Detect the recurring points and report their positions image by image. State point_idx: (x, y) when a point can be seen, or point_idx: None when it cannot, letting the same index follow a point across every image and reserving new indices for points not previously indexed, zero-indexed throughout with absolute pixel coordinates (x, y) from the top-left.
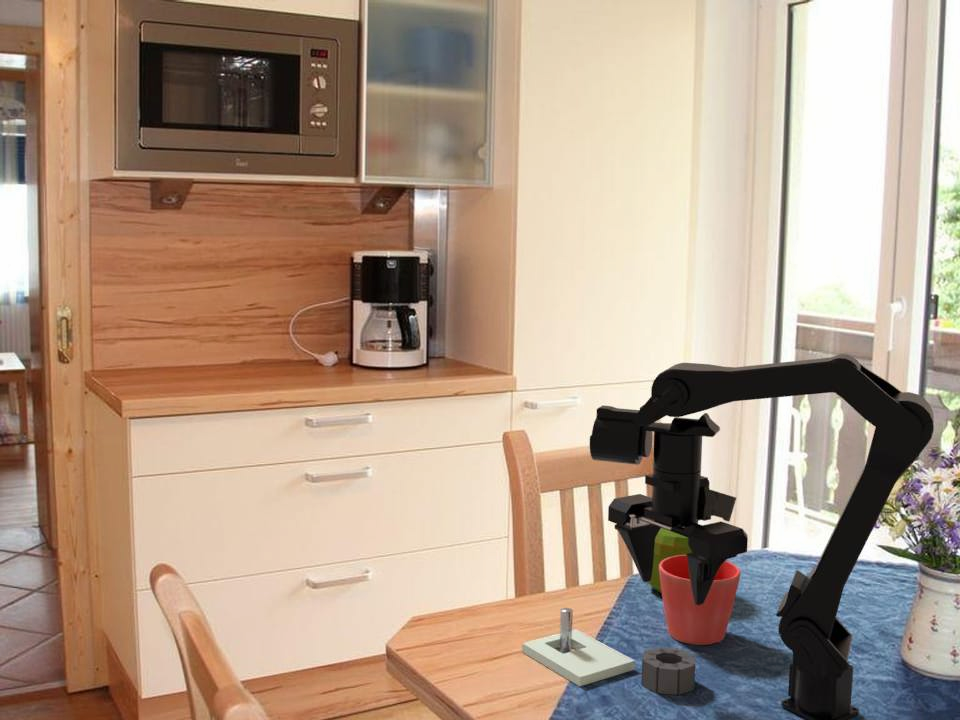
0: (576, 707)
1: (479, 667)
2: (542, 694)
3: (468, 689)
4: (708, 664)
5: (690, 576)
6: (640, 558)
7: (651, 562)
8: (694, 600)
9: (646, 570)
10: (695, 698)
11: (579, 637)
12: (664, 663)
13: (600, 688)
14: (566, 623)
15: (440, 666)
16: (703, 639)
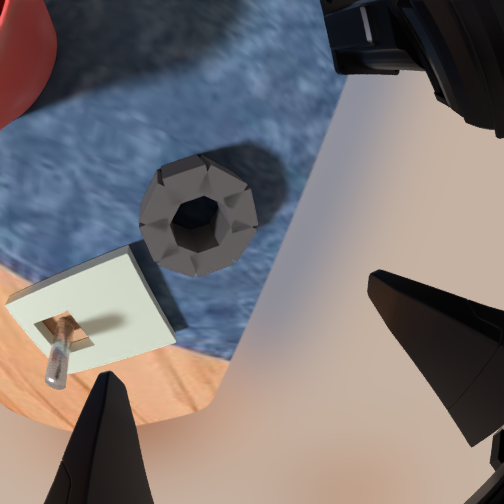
0: (229, 342)
1: None
2: (187, 366)
3: (163, 409)
4: (139, 89)
5: (433, 384)
6: (140, 477)
7: (105, 435)
8: (376, 306)
9: (125, 421)
10: (262, 185)
11: (33, 310)
12: (222, 243)
13: (185, 310)
14: (67, 369)
15: None
16: (51, 65)
